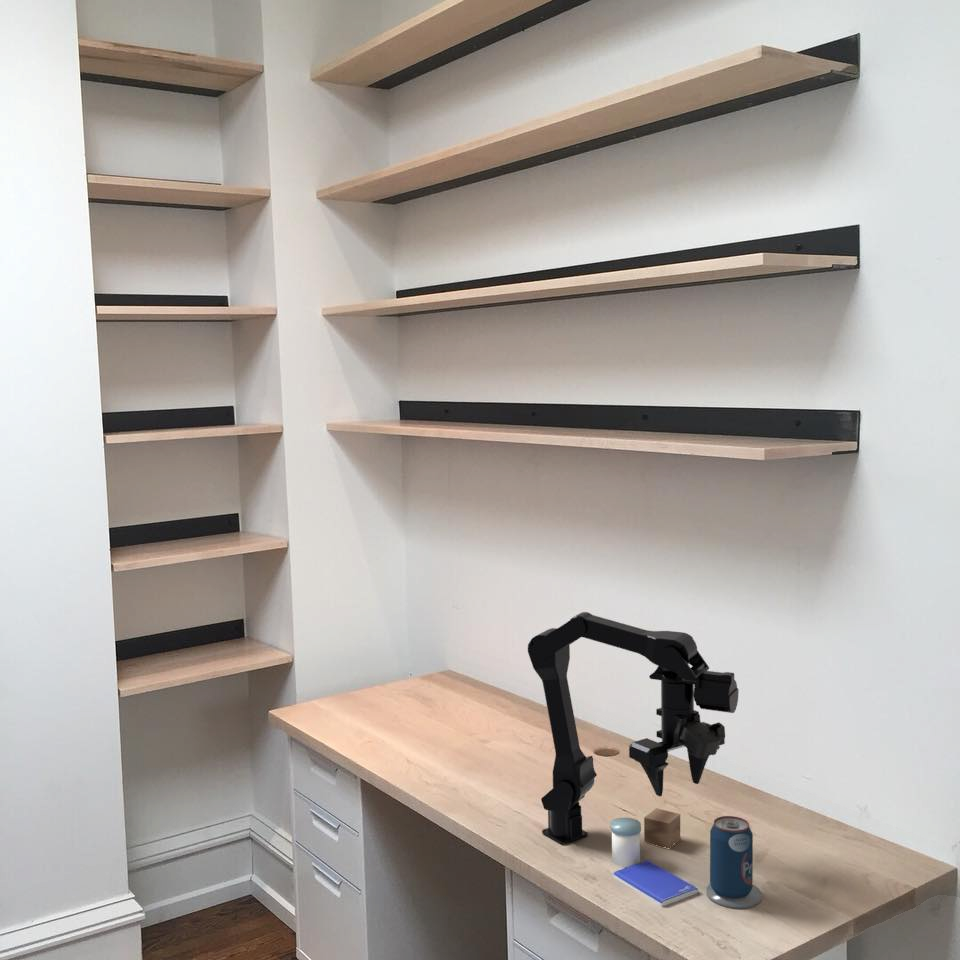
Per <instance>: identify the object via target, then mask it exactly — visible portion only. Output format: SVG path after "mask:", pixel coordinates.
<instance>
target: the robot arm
mask: <svg viewBox="0 0 960 960" xmlns="http://www.w3.org/2000/svg"><path fill="white" fill-rule="evenodd" d="M581 638H585V639H587V640H591V641H594V642H598V643H602V644H604V645H607V646H612V647H616V648H618V649H622V650H625V651H628V652H632V653H636V654H639V655H640V656H642V657H644V658H646V659H647V660H648V661H649V662H651V664H653V665H655V666H657V668H656V669H655V671H653V672H652V673H651V674H649V679H650V680H657V681H660V682H661V683H660V687H661V689H660V692H661V693H660V696H661V697H660V698H661V699H660V703H661V705H660V706H661V707H658V708H656V712H655V713H656V715H657V716H660V721H661V722H660V723H661V724H660V725H661V727H660V728H661V729H660V730H656V738H659V739H661V741H659V742H657V741H655V740H652V739H650V738H648V737H646V738H643V739H639V740H635V741H632V742H631V743H630V744H629V745H628V746H629V748H628V755H629V756H628V758H630V759H632V760H634V761H635V762H637V763H640V766H641V767H642V769H643V770H644V772H645V774H646V776H647V778H648V781H649V782H650V784H651V786H652V789H653V791H654V793H655V795H656V796H658V797H662V796H663V791H664V770H665V769H667V766H669V762H666V761H667V760H668V758H669V752H670V751H674V750H677V749H681V748H686V753H687V756H688V757H687V758H688V763H689V770H690V775H691V776H690V777H691V780H692V783H693V784H695V785H698V784H699V783H700V782H701V778H702V776H703V773H704V770H705V766H706V764H707V761H708V759H709V757H710V756H716V755H717V752H718V750H720V747H721V746H723V745H725V743H726V742H725V739H726V730H725V726H724V724H723V723H721V722H716V723H712V724H710V723H707V722H705V721H701V714H700V712H699V711H698V710H695V706H694V705H695V704H696V706H697V707H699V708H700V709H701V710H707V711H713V712H714V711H715V712H721V713H722V712H723V713H730V714H734V713H735V712H736V709H737V707H738V702H739V688H738V683H737V681H736V679H735V673H734V672H731V671H730V672H729V671H724V672H719V671H713V670H712V671H711V670H709V669H710V666H709V665H708V663H707V662H706V660H704V659H705V658H704V657H702V655H701V653H700V652H699V651H698V646H697V643H696V641H695V640H694V637H693V636H691V635H690V634H689V633H687V632H681V631H674V630H673V631H672V630H647V629H644V628H641V627H637V626H633V625H629V624H625V623H624V622H623V623H622V622H619V621H615V620H612V619H608V618H605V617H601V616H597V615H594V614H592V613H590V612H588V611H587V612H586V611H582V612H580V613H578V614H576V615H574V616H573V617H571V618H570V620H569V621H567V622H565V623H563V624H561V625H560V626H559V627H557V628H555V627H551V628H548V629H546V630H544V631H543V632H541V633H539V634H537V635H535V636H533V637H532V638H531V639H530V641H529V642H528V643H527V653H528V657H529V659H530V662H531V666H532V668H533V670H534V671H535V673H536V674H537V676H539V678H540V680H541V682H542V686H543V692H544V697H545V704H546V707H547V713H548V719H549V724H550V725H549V726H550V730H551V735H552V740H553V741H552V742H553V746H554V753H555V757H554V763H553V769H552V789H550V791H548V792H547V793H545V795H544V796H542V797H541V799H540V801H541V803H542V807H543V809H544V810H546V811H547V821H548V822H547V826H548V827H547V828H544V829H542V830H541V833H542V835H545V836H546V837H548V838H550V839H552V840H553V841H555V842H558V843H559V844H561V845H565V844H568V843H571V842H574V841H576V840H580V839H583V838H585V837H588V835H589V833H588V832H587V831H585V830H584V829H583V815H582V805H580V801H581V800H583V799H584V798H585V796H586V794H587V793H589V791H591V789H592V788H593V786H594V784H595V778H596V777H597V776H598V774H597V772H596V771H595V768H594V758H593V755H588V756H586V755H585V754H584V752H583V751H582V749H581V747H580V746H581V745H580V741H579V735H578V730H577V726H576V719H575V714H574V709H573V703H572V698H571V691H570V686H569V681H568V670H569V665H570V657H571V653H570V651H571V649H570V645H571V644H573V643H574V642H576V641H578V640H579V639H581ZM690 666H691V667H690ZM694 703H695V704H694Z"/></svg>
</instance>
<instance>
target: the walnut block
mask: <svg viewBox="0 0 960 960" xmlns="http://www.w3.org/2000/svg"><path fill="white" fill-rule="evenodd" d="M643 818H644V819H643V820H644V821H643V823H644V824H643V827H644V828H643V831H644V833H643V835H644V837H643V839H644V842H647V843H651V844H654V845H653V846H655V845H658V846H661V847H660V848H662V847H666V848H670V847H671V846H672V845H673V844H674V843H676V842H677V841H678V840H679V839H680V840H681V813H677V812H673V811H669V810H666V809H665V810H664V809H661V808H657V807H656V808H654V809H653V810H652V811H651V812H649V813H648V814H647V815H646V816H644V817H643ZM680 840H679V841H680ZM679 841H678V842H679ZM644 842H643V843H644ZM678 842H677V843H678ZM647 843H646V844H647ZM677 843H676V844H677ZM651 844H650V845H651ZM674 845H675V844H674ZM674 845H673V846H674ZM658 846H657V847H658ZM673 846H672V847H673ZM672 847H671V848H672ZM666 848H665V849H666ZM671 848H670V849H671Z"/></svg>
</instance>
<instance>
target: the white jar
mask: <svg viewBox="0 0 960 960" xmlns="http://www.w3.org/2000/svg"><path fill="white" fill-rule="evenodd" d="M610 831H611V860H612V861H611V862H612V864H613V863H614V864H613V865H615V866H616V865H617V867H619V866H621V867H620V868H624V867H630V866H632V865H635V864H638V863H641V832H642V823H641V821H639V820H638V819H635V818H632V817H617V818H614V819H612V820H611V821H610Z"/></svg>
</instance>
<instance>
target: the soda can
mask: <svg viewBox="0 0 960 960" xmlns="http://www.w3.org/2000/svg"><path fill="white" fill-rule="evenodd" d="M753 838H754V835H753V832H752V829H751V828H750V823H749V822H748V820H746V819H744V818H742V817H739V816H733V815H722V816H719V817H717V818H715V819H714V821H713V824H712V827H711V829H710V830H709V859H710V860H709V884H710V885H711V887H712V889H713V890H714V892H715V893H716V895H718V896H719V897H721V898H724V899H728V900H741V899H744V898H746V897H747V896H748V894H749V893H750V891H751V890H752V887H753V885H754V883H753V881H754V880H753V879H754V876H753V873H754V870H753V867H754V866H753V861H754V860H753V857H754V856H753V855H754V854H753V853H754V849H753V848H754V845H753V844H754V843H753V840H754V839H753Z"/></svg>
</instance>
